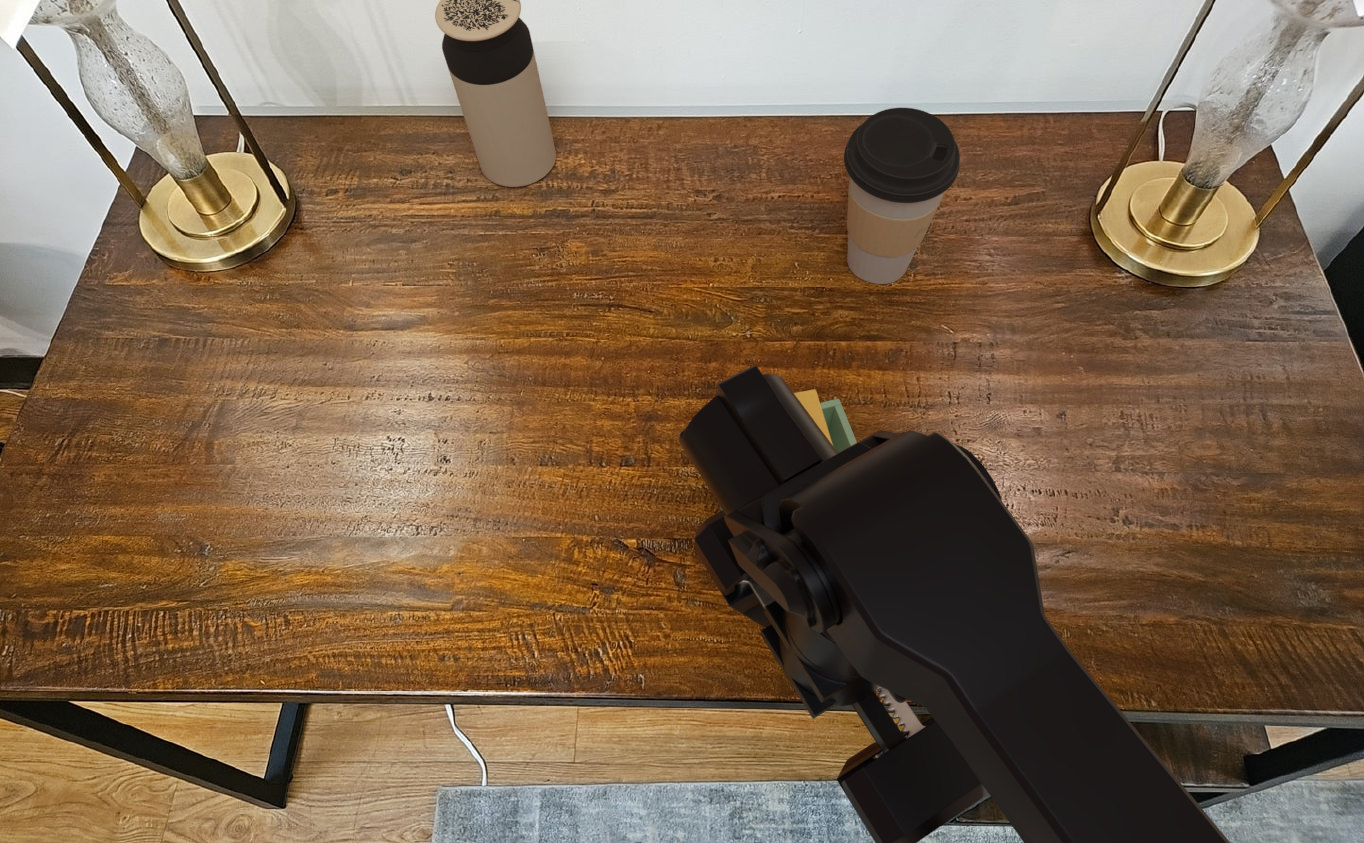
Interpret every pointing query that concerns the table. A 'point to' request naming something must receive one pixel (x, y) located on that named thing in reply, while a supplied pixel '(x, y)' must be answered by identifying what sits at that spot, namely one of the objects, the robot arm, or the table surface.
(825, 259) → the table surface
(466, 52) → the travel mug
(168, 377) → the table surface
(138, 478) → the table surface
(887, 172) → the coffee cup
